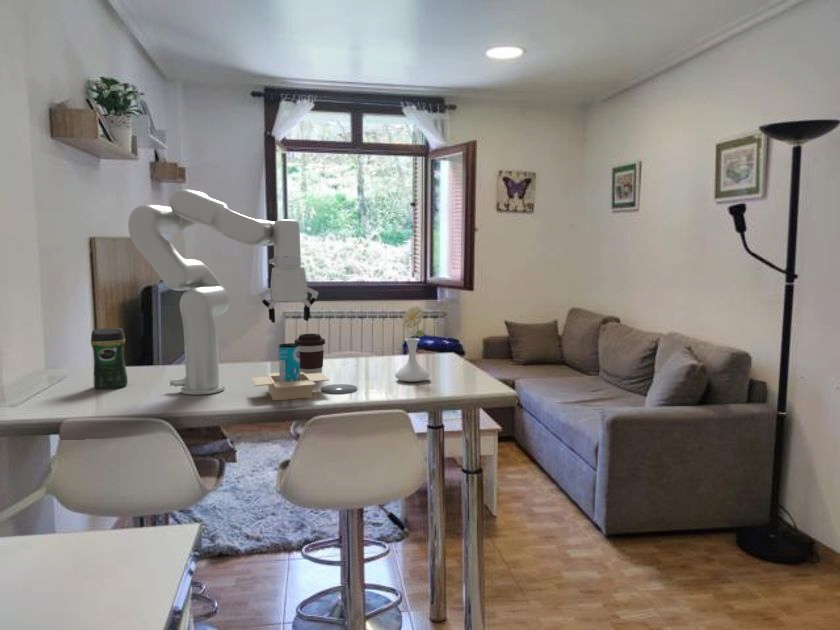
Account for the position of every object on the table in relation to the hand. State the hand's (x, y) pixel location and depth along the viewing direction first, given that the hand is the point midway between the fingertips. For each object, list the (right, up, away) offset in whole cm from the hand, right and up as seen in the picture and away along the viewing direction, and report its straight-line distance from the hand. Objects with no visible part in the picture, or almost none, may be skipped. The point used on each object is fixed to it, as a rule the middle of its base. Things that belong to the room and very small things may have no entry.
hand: (289, 321), depth 180 cm
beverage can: (0, -22, +2) cm, 22 cm away
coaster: (+13, -21, +9) cm, 26 cm away
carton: (0, -22, +2) cm, 22 cm away
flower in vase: (+36, -20, +22) cm, 47 cm away
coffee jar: (-59, -21, +14) cm, 65 cm away
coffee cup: (+2, -20, +24) cm, 32 cm away
